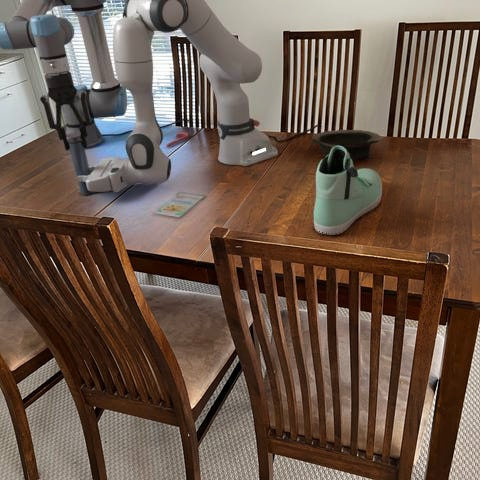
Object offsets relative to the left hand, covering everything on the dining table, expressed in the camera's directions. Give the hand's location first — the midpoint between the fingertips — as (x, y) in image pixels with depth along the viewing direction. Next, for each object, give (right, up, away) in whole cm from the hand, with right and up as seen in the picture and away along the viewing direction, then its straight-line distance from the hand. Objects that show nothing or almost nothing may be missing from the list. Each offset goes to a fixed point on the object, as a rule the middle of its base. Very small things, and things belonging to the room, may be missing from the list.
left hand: (76, 147), depth 153 cm
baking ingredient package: (+34, -19, -5) cm, 39 cm away
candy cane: (+26, +11, +45) cm, 53 cm away
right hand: (0, -8, +5) cm, 9 cm away
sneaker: (+84, -21, -14) cm, 87 cm away
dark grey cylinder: (+1, -13, +8) cm, 16 cm away
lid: (0, +3, -2) cm, 4 cm away
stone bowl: (+90, +1, +20) cm, 92 cm away
